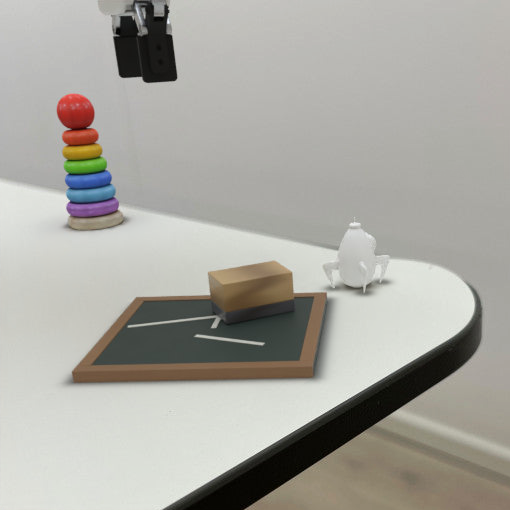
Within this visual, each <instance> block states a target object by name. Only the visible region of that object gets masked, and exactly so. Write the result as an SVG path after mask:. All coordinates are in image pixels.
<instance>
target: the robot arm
mask: <svg viewBox="0 0 510 510" xmlns="http://www.w3.org/2000/svg"><path fill="white" fill-rule="evenodd" d="M170 5H171V0H97V6H98V10H99V11H100V13H102V14H103V15H104V16H110V17H111V31H112V40H113V45H114V53H115V58H116V66H117V71H118V76H119V77H120V78H122V79H132V78H142V81H143V82H144V83H146V84H153V83H154V84H156V83H170V82H176V81H177V80H178V69H177V62H176V61H177V60H176V54H175V47H174V39H173V27H172V22H171V19H170V17H169V14H170V9H169V8H170Z"/></svg>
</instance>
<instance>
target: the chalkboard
mask: <svg viewBox="0 0 510 510" xmlns="http://www.w3.org/2000/svg"><path fill="white" fill-rule="evenodd" d="M294 305H295V311H291V312H286V313H281V314H276V315H272V316H267V317H262V318H257V319H252V320H247V321H242V322H237V323H232V324H226V323H225V322H224V321H223V320H222V319H221V318H219V317H218V316H217V315H216V314H215V313H214V312H213V311H212V306H211V297H210V294H204V295H203V294H201V295H168V296H167V295H165V296H164V295H161V296H160V295H159V296H136V297H135V298H134V299H133V300H132V302H131V303H130V304H129V305H128V306H127V308H125V310H123V312H122V313H121V314H120V316H119V317H118V318H117V319H116V320H115V321H114V322H113V324H112V325H111V326H110V327H109V328H108V329H107V331H106V332H104V334H103V335H102V336H101V337H100V338H99V340H98V341H97V342H96V343H95V344H94V345H93V347H92V348H91V349H90V350H89V351H88V353H87V354H86V355H85V356H84V357H83V358H82V360H80V362H79V363H78V364H77V365H76V366H75V367H74V368H73V369H72V371H71V376H72V380H73V383H113V382H114V383H117V382H118V383H119V382H120V383H121V382H122V383H123V382H161V381H162V382H163V381H167V382H168V381H206V380H207V381H209V380H210V381H212V380H214V381H215V380H256V379H257V380H258V379H260V380H261V379H303V378H305V379H306V378H307V379H308V378H309V379H310V378H314V375H315V370H316V365H317V358H318V354H319V348H320V344H321V338H322V333H323V328H324V327H323V326H324V322H325V317H326V311H327V305H328V292H327V291H325V292H324V291H323V292H321V291H319V292H294Z"/></svg>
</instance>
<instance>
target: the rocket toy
mask: <svg viewBox="0 0 510 510" xmlns="http://www.w3.org/2000/svg"><path fill="white" fill-rule="evenodd" d="M353 219H354V220H353V221H354V222H350V223H349V225H348V227H349V228H348V229H347V231H346V232H345V233H344V235H343V236H342V239H341V241H340V244H339V246H338V251H337V259H335V260H332V261H325V262H323V263H322V269H323V271H324V273H325V276H326V277H327V280H328V281H329V283H330V285H331V287H332V289H336V286H335V282H334V279H333V271H336V270H337V271H338V274H339V277H340V279H341V281H342V282H343V283H344V284H345V285H346V286H349V287H351V288H354V289H359V288H362V289H363V290H362V291H363V294H365V293H366V288H367V285H369V284H371V283H372V281H373V279H374V276H375V274H376V267H377V265H380V267H381V271H380V278H379V283H380V284H381V283H382V281H383V279H384V277H385V275H386V271H387V269H388V266H389V263H390V260H391V256H390V255H388V254H383V255H376V254H375V250H376V247H377V241H376V239H375V237H374V236H373V235H371V234H369V233H368V232H366V231H365V230H364V229H363V228H362V224H361V223H360V222H356V216H354V217H353Z"/></svg>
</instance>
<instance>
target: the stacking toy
mask: <svg viewBox="0 0 510 510" xmlns="http://www.w3.org/2000/svg"><path fill="white" fill-rule="evenodd" d="M95 114H96V113H95V107H94V105H93V103H92V102H91V100H90V99H88V97H86V96H85V95H82V94H79V93H68V94H65V95H64V96H62V97H61V98H60V99H59V101H58V102H57V105H56V115H57V118H58V120H59V123H61V125H62V126H63V127H65V128H66V129H67V130H64V131H63V132H62V134H61V139H62V142H63V143H64V144H65V146H64V147H63V148H62V150H61V153H62V157H64V159H66V160H65V161H64V162H63V169H64V171H65V172H66V173H67V174H66V175H65V177H64V182H65V185H66V186H67V189H66V191H65V195H66V199H68V202H67V203H66V205H65V206H66V207H65V210H66V212H67V213H68V214H69V216H68V217H67V225H68V226H69V227H70V228H71V229H73V230H77V231H78V230H79V231H93V230H94V231H95V230H102V229H107V228H111V227H115V226H118V225H120V224H121V223H122V222H123V221H124V214H123V212H122V211H121V210H120V209H119V207H120V201H119V199H118V198H116V197H115V196H116V193H117V191H116V187H115V185H114V184H112V180H113V176H112V173H111V172H110V171H109V170H107V167H108V162H107V160H106V158H105V157H103V156H102V155H103V147H102V146H101V145H100V143H98V141H99V137H100V136H99V134H100V133H99V132H98V130H96V129H95V128H92V127H91V126H92V125H93V122H94V120H95Z"/></svg>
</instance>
